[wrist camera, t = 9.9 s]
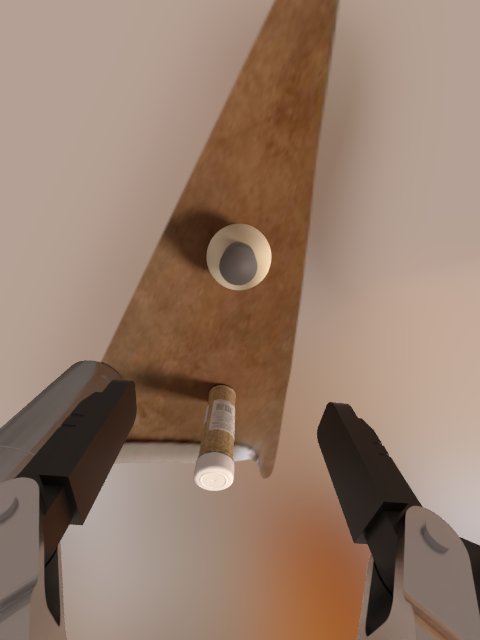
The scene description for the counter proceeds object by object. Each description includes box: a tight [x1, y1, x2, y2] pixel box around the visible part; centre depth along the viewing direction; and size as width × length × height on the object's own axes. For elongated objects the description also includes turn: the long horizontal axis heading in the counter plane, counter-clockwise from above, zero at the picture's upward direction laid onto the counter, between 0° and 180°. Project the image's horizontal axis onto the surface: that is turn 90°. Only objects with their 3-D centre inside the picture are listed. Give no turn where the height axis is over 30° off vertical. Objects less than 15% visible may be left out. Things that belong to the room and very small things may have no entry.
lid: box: [207, 224, 271, 290], centre depth 22 cm, size 7×7×5 cm
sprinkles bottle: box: [194, 385, 236, 491], centre depth 31 cm, size 5×5×13 cm
